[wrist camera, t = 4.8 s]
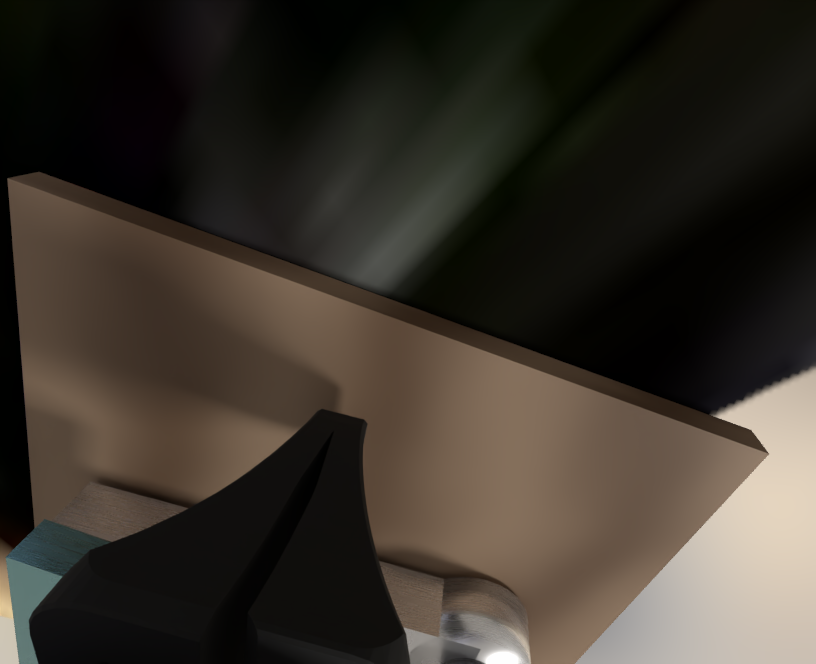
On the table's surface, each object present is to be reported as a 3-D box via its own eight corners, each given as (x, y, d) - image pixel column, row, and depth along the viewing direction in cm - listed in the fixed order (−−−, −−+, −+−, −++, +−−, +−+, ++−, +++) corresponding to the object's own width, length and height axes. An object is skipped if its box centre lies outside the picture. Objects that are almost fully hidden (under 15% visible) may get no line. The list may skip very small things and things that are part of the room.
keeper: (118, 591, 20) (26, 719, 16) (126, 437, 16) (5, 557, 12) (173, 610, 20) (95, 742, 16) (196, 461, 16) (99, 589, 12)
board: (56, 553, 21) (38, 573, 21) (38, 171, 13) (7, 178, 12) (507, 709, 22) (508, 735, 21) (751, 430, 14) (768, 453, 13)
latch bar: (543, 595, 16) (554, 694, 14) (507, 660, 18) (510, 758, 16) (89, 471, 17) (15, 543, 14) (99, 546, 19) (35, 623, 16)
